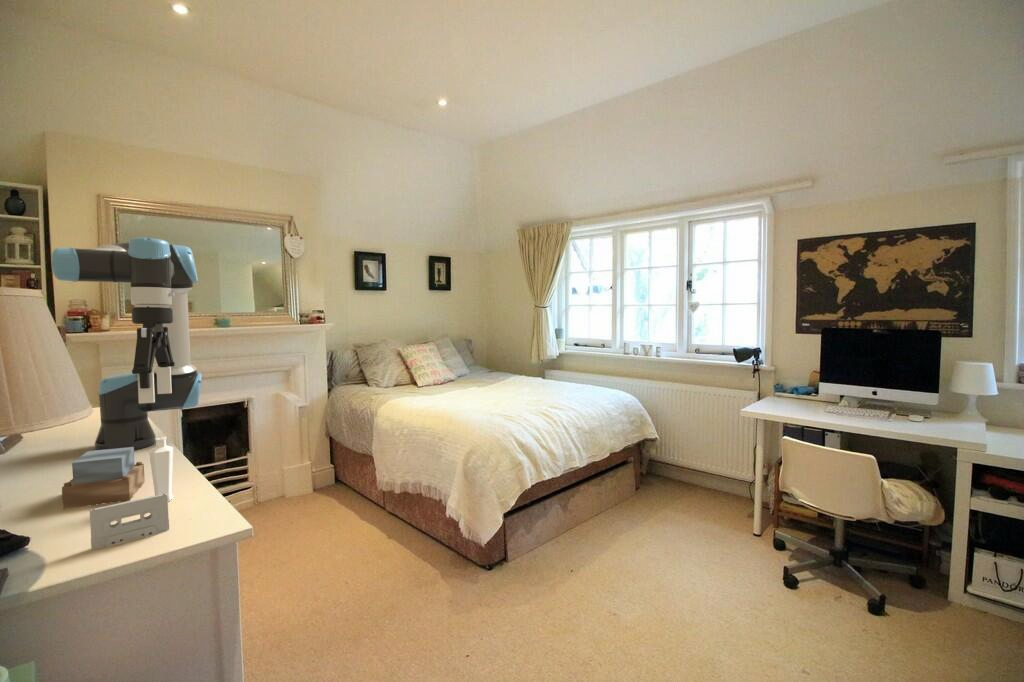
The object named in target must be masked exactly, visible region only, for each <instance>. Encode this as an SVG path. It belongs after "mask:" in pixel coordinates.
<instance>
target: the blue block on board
mask: <svg viewBox="0 0 1024 682" xmlns="http://www.w3.org/2000/svg"><path fill="white" fill-rule="evenodd" d="M71 467H72V468H71V469H72V470H71V471H72V479H70V481H68V482H64V483H63V486H62V487H61V498H62V509H63V510H67V509H66V508H68V509H73V508H74V507H75V508H81V507H89V505H91V506H96V504H98V505H103V504H102V503H106V504H111V503H110V502H114V503H119V502H118V501H121V502H128V501H127V500H129V501H131V500H132V498H134V496H135V495H136V494H137V492H138V491H139V490H140V489H141V488H142V486H143V485H144V484H145V483H144V482H145V465H144V463H143V461H137V462H135V450H134V447H127V448H116V449H106V450H95V449H94V450H87V451H86V452H85V453H84V454H82V455H80V456H79V457H77V458H76V459H75V460H74V461H72V462H71ZM139 488H140V489H139ZM138 489H139V490H138ZM135 493H136V494H135ZM134 494H135V495H134ZM133 495H134V496H133ZM130 499H131V500H130ZM75 508H74V509H75Z"/></svg>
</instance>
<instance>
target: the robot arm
mask: <svg viewBox="0 0 1024 682" xmlns="http://www.w3.org/2000/svg"><path fill="white" fill-rule="evenodd" d="M50 258H51V259H50V261H51V270H52V272H53V275H54V277H55V278H56V279H57V280H59V281H67V282H73V283H74V282H75V283H76V282H90V283H92V282H94V283H95V282H99V283H130V304H131V305H132V306H134V307H133V308H131V322H132V323H133V324H134V325H135V324H136V325H141V324H142V327H137V329H136V344H135V352H134V359H133V360H134V362H133V368H132V369H131V372H124V373H120V374H119V373H118V374H115V375H111V376H107V377H104V378H102V379H101V380H100V381H99V383H98V387H99V388H98V397H99V399H98V401H99V411H100V427H99V430H98V432H97V436H96V438H95V440H94V441H95V442H94V451H95V450H106V449H116V448H127V447H134V451H135V450H141V449H143V448H147V447H150V446H151V445H154V444H156V433H155V431H154V429H153V426H152V425H151V423H150V421H149V415H148V413H149V412H159V411H170V410H183V409H189V408H195V407H197V406H198V404H199V403H200V395H201V394H200V393H201V384H202V378H203V374H202V373H201V372H198V371H197V369H198V368H197V367H196V366H195V365H193V364H192V360H191V344H190V343H191V341H190V339H191V337H190V318H189V299H188V297H189V296H188V293H189V292H190V291H191V290H192V289H193V287H194V284H195V283H197V282H198V281H199V278H198V273H197V268H196V263H195V262H196V261H195V258H194V254H193V251H192V249H191V248H190V247H189V246H186V245H178V244H170V242H168V241H166V240H164V239H160V238H151V237H133V238H130V239H129V241H128V242H126V241H125V242H117V243H109V244H103V245H99V246H97V247H95V248H74V247H58V248H54V249H53V251H52V253H51V257H50ZM155 360H156V363H157V366H156V368H155V369H153V367H154V361H155Z"/></svg>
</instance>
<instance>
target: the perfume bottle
mask: <svg viewBox="0 0 1024 682" xmlns="http://www.w3.org/2000/svg"><path fill="white" fill-rule="evenodd" d="M148 453H149V454H148V455H149V461H150V467H151V469H150V470H151V475H152V481H153V483H152V484H153V489H154V496H156V495H161V494H167V496H168V501H170V500H171V499H172V498H173V497H174V495H173V492H172V490H173V489H172V488H173V465H174V464H173V462H174V447H173V446H169V445H167V436H161V437H157V438H156V442H155V447H154V448H151V449H150V450H148ZM173 499H174V498H173ZM173 499H172V500H173ZM172 500H171V501H172ZM171 501H170V502H171Z"/></svg>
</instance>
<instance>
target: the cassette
mask: <svg viewBox="0 0 1024 682" xmlns="http://www.w3.org/2000/svg"><path fill="white" fill-rule="evenodd" d="M146 514H149V515H148V516H146ZM134 516H139V518H136V519H133V520H129V521H124V522H122V519H125V518H130V517H134ZM169 519H170V518H169V502H168V496H167V494H161V495H156V496H155V495H152V496H148V497H147V496H146V497H143V498H138V499H133V500H129V501H122V502H117V503H113V504H110V505H106V506H100V507H96V508H95V507H94V508H91V509H89V523H90V524H89V525H90V546H91V547H90V548H91V549H92V550H93V551H94V550H97V549H98V550H99V549H102V548H108V547H112V546H115V545H119V544H124V543H127V542H132V541H135V540H140V539H143V538H148V537H150V536H154V535H158V534H160V533H163V532H167V530H168V531H169V530H170V520H169ZM113 522H116V523H113Z"/></svg>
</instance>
